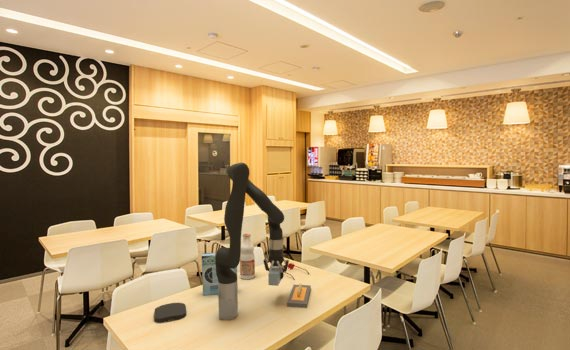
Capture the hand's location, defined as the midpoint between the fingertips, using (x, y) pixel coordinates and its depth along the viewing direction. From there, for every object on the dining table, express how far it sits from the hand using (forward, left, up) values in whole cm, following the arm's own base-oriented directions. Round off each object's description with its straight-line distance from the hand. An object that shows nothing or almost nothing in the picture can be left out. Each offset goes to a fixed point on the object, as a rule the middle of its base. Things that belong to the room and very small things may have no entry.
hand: (276, 278), depth 171 cm
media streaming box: (-22, +49, -12) cm, 56 cm away
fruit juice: (+31, +25, -12) cm, 41 cm away
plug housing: (+3, 0, -1) cm, 3 cm away
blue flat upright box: (+5, +34, -12) cm, 36 cm away
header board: (+6, -12, -12) cm, 18 cm away
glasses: (+41, -4, -13) cm, 43 cm away
